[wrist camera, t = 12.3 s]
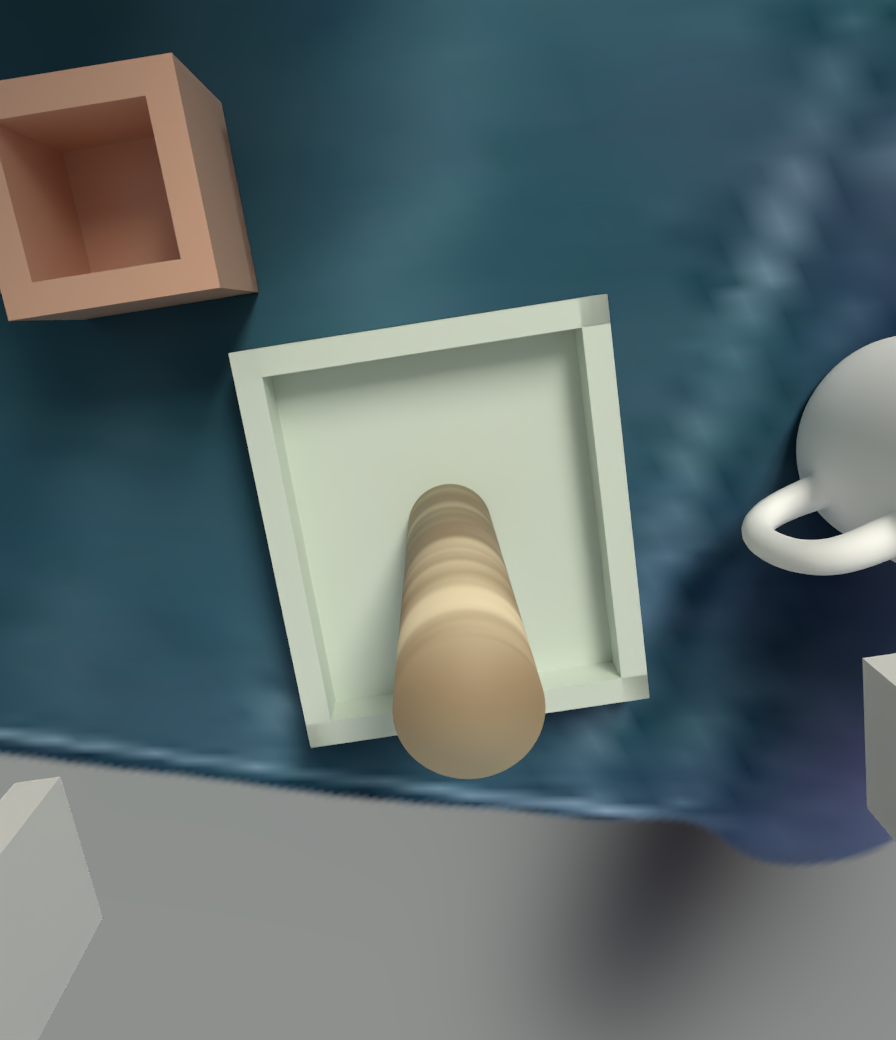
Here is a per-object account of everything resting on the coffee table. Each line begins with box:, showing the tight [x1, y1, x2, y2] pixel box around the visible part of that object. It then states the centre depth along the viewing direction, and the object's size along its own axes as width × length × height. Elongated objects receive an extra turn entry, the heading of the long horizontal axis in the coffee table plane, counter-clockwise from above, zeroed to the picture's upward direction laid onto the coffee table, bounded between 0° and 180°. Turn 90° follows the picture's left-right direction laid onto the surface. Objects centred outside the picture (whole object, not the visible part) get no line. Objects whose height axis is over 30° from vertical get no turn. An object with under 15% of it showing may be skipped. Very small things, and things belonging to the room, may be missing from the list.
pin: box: [392, 484, 546, 779], centre depth 26 cm, size 3×3×16 cm
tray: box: [228, 294, 650, 748], centre depth 33 cm, size 15×13×2 cm
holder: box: [0, 53, 259, 321], centre depth 28 cm, size 7×7×6 cm
